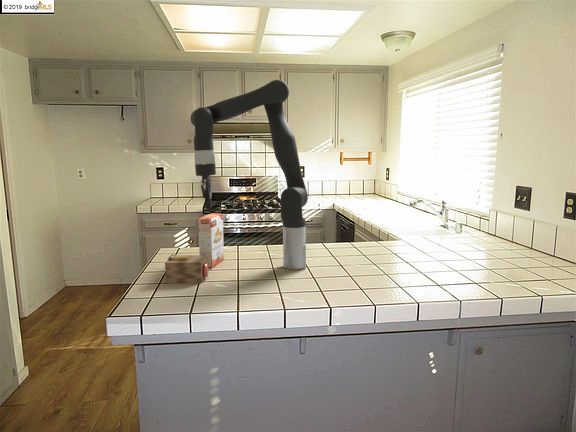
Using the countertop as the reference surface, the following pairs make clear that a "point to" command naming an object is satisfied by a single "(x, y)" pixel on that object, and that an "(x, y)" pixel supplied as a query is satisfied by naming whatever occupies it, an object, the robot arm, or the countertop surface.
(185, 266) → the block
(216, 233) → the cracker box
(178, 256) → the lever
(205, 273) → the lynch pin
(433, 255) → the countertop surface
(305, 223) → the robot arm
